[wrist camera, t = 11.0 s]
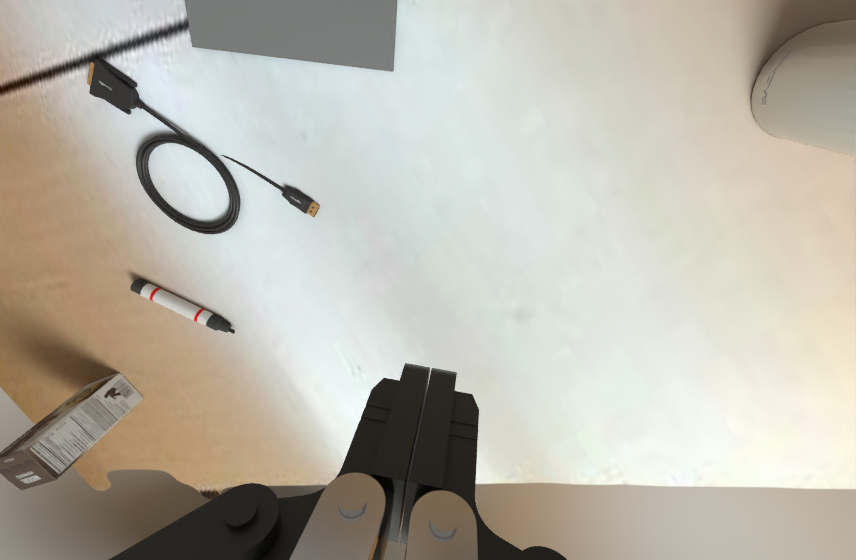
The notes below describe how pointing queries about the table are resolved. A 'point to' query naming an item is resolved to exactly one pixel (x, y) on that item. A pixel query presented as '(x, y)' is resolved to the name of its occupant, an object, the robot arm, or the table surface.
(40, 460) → the coffee box
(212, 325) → the marker
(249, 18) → the mat
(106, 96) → the cable
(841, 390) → the table surface
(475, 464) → the robot arm
